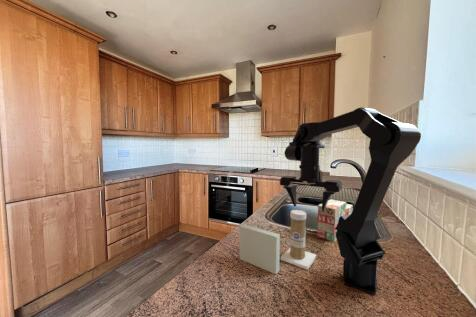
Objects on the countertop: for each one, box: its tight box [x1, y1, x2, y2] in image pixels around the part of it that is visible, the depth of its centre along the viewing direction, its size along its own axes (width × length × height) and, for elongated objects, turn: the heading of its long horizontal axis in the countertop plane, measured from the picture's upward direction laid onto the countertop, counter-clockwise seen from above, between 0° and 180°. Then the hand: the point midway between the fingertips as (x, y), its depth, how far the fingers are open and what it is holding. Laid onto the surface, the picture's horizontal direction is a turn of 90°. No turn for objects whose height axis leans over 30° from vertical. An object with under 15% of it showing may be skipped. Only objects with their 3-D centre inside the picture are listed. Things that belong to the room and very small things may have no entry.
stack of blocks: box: [316, 198, 354, 243], centre depth 79 cm, size 21×6×12 cm, turn 134°
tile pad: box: [280, 247, 317, 271], centre depth 59 cm, size 8×8×1 cm
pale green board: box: [239, 223, 281, 275], centre depth 56 cm, size 12×2×10 cm, turn 53°
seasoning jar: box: [289, 209, 307, 259], centre depth 59 cm, size 5×5×13 cm
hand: (308, 208), depth 65 cm, fingers open, 9 cm apart
